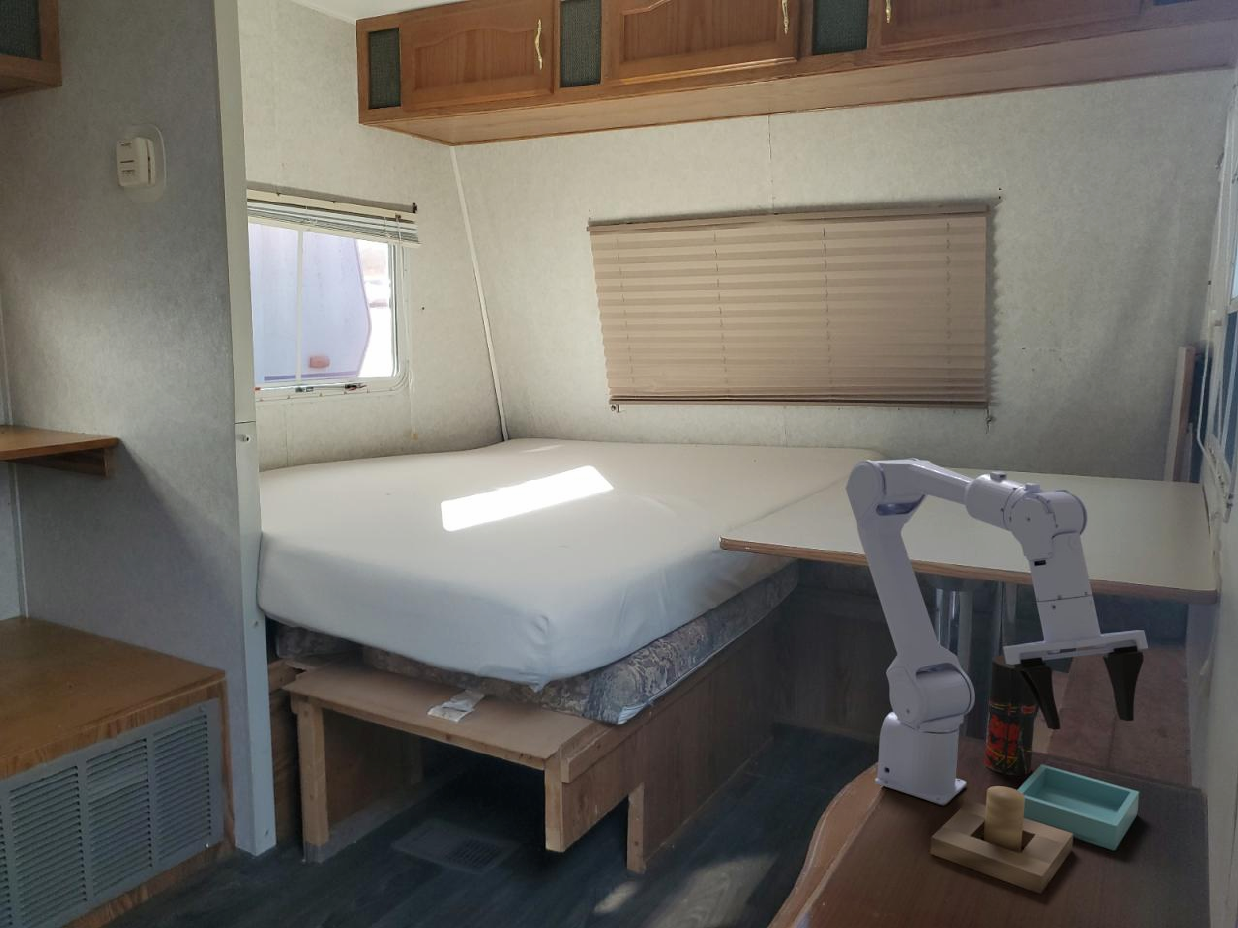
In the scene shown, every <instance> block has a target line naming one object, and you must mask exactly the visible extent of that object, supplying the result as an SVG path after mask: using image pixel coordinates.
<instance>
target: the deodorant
mask: <svg viewBox="0 0 1238 928" xmlns="http://www.w3.org/2000/svg"><path fill="white" fill-rule="evenodd" d="M990 672H991V673H990V686H989V687H990V688H989V698H988V699H989V700H988V712H987V713H988V715H987V725H986V726H987V727H986V729H987V730H986V741H985V753H984V754H985V755H984V756H985V757H984V764H985V766H986V767H987V768H988V769H989V770H991V771H993V772H995V773H999V774H1002V775H1005V776H1011V777H1012V776H1013V777H1015V776H1016V777H1022V776H1023V777H1024V776H1026V775H1028V774H1030V773H1031V771H1032V760H1033V759H1032V758H1033V747H1034V746H1033V745H1034V731H1035V722H1036V721H1035V720H1036V705H1037V701H1036V700H1035V698H1034V696H1033V694H1032V693H1031V691H1030V690H1029V688H1028V686H1027V685H1026V684H1025V682H1024V681H1023V679H1022V678H1021V677H1020V675H1019V674H1018V673H1017V671H1016V670H1015V667H1014V665H1010V664H1006V660H1005V655H1004V654H1000V655H995V656H993V657H992V659H991V670H990Z"/></svg>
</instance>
